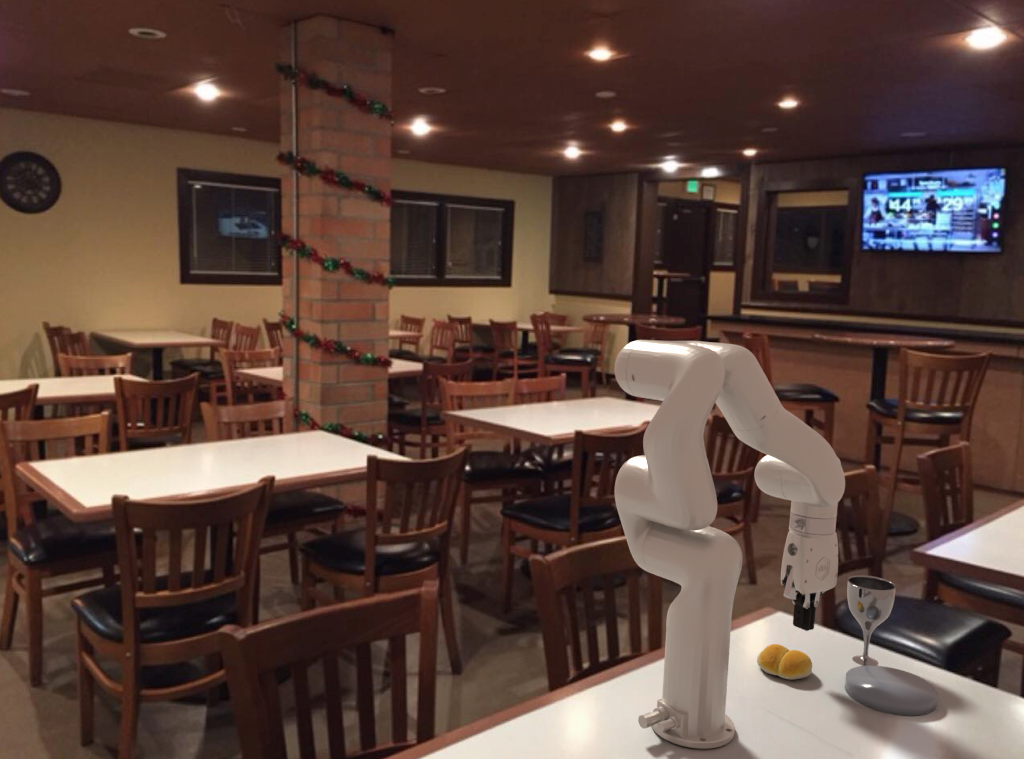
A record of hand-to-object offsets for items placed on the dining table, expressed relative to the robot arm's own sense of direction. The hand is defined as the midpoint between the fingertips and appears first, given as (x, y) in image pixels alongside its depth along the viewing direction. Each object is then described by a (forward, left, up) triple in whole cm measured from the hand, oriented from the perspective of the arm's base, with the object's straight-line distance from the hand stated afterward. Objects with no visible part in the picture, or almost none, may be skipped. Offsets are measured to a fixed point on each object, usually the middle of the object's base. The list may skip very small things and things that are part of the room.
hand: (803, 627), depth 151 cm
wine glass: (+15, -3, -9) cm, 17 cm away
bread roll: (+1, 0, -9) cm, 9 cm away
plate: (+7, -13, -9) cm, 17 cm away
